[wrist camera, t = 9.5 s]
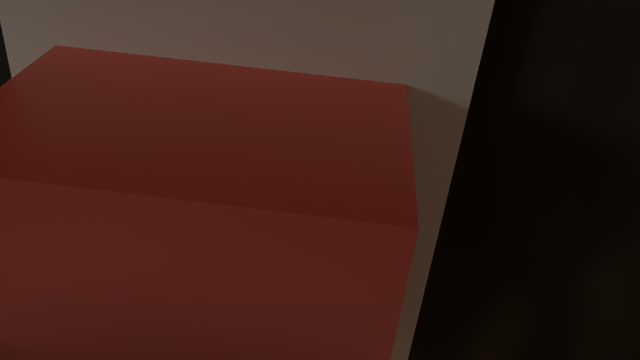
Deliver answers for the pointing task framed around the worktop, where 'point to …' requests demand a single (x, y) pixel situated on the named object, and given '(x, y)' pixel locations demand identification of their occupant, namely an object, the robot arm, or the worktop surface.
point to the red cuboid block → (201, 211)
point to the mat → (301, 66)
